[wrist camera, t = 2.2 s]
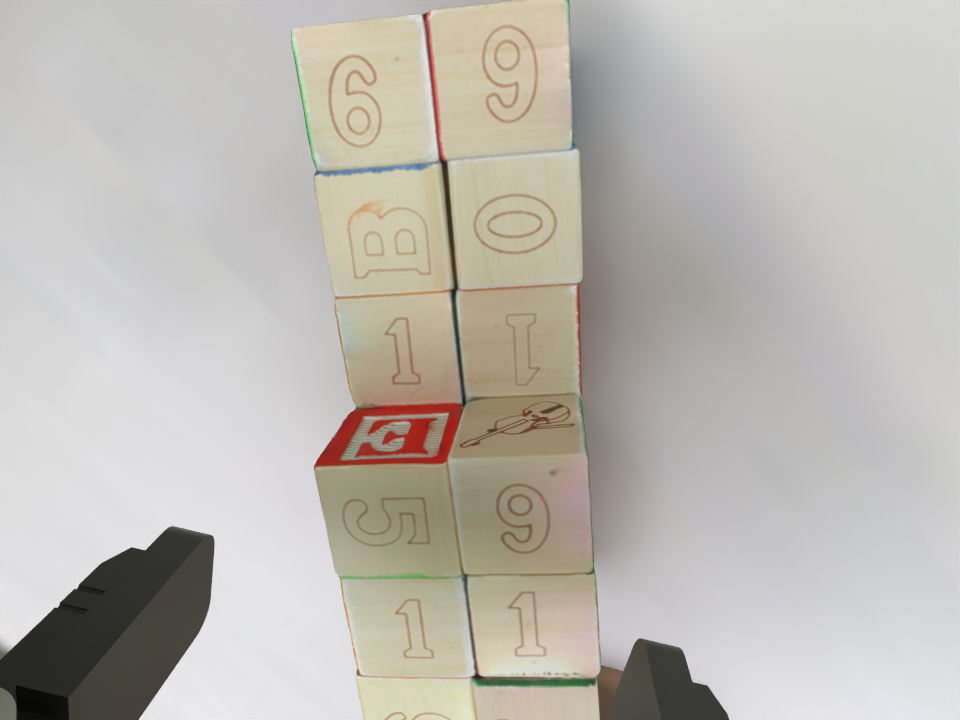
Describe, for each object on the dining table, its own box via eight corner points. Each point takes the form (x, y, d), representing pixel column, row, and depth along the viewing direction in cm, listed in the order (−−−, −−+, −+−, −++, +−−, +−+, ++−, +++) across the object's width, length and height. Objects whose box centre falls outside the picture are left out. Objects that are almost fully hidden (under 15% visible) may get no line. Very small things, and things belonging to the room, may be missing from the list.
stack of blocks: (389, 68, 22) (214, -15, 10) (566, 51, 21) (590, -62, 10) (446, 566, 29) (380, 849, 17) (581, 567, 28) (605, 863, 17)
